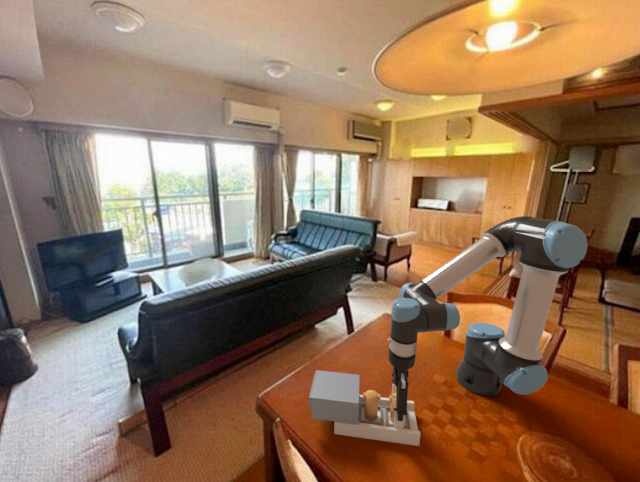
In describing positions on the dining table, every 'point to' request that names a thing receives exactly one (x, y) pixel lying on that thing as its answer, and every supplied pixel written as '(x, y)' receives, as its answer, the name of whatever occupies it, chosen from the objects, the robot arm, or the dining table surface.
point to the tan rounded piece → (371, 404)
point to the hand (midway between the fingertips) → (397, 413)
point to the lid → (335, 397)
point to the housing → (382, 425)
